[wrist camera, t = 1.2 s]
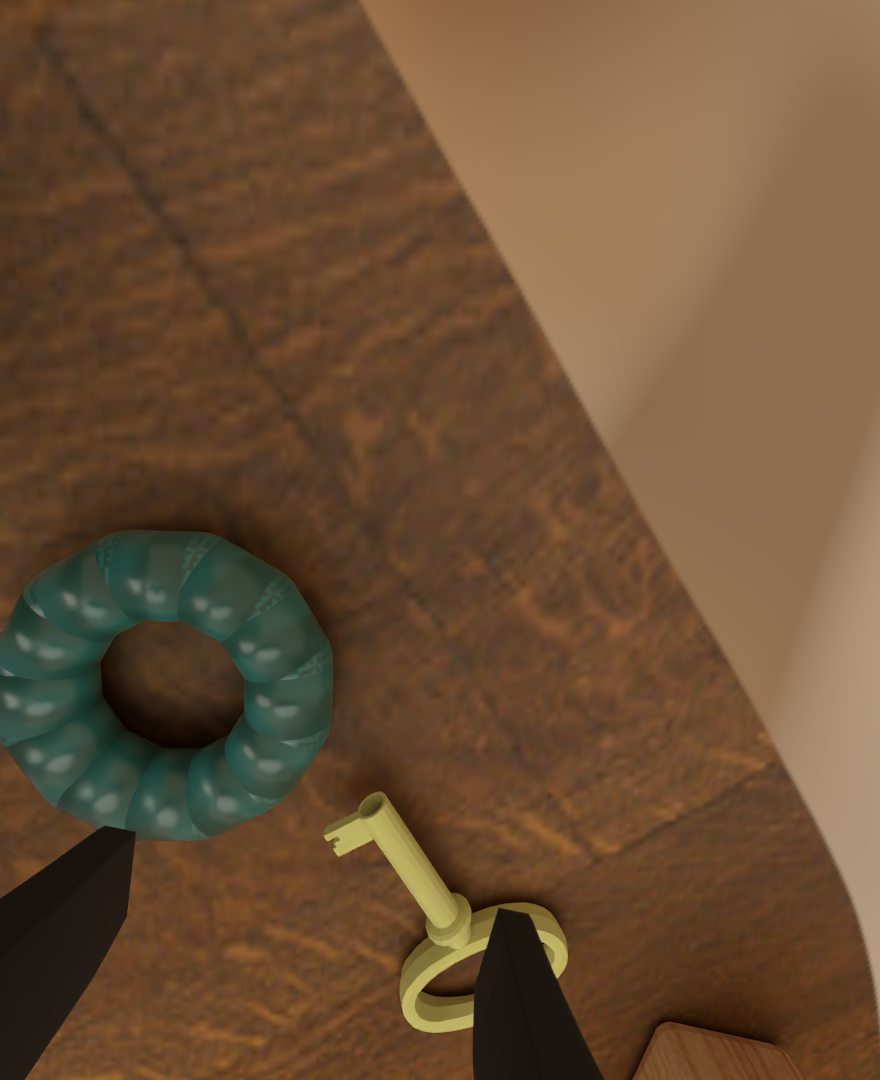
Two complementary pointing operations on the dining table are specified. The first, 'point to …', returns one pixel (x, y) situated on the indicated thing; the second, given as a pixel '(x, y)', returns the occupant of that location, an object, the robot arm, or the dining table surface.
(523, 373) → the dining table surface
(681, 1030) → the decorative item
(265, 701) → the ring
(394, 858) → the key
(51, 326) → the dining table surface
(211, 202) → the dining table surface
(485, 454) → the dining table surface
